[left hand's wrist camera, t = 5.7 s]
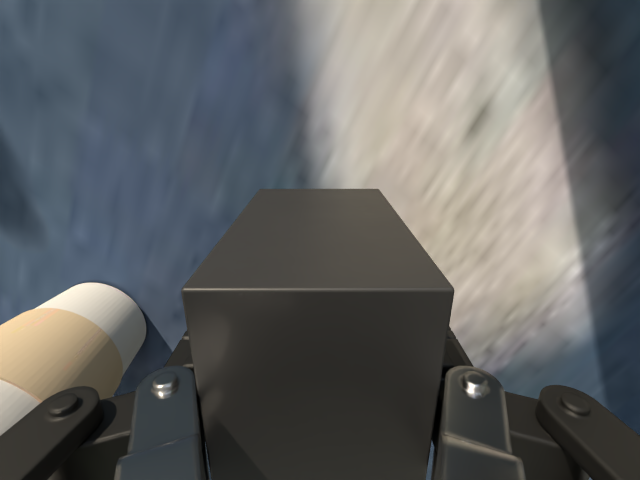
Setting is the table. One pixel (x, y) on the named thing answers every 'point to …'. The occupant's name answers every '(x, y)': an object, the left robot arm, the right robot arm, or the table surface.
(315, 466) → the bar
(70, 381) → the coffee cup
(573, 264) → the table surface
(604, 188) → the table surface
